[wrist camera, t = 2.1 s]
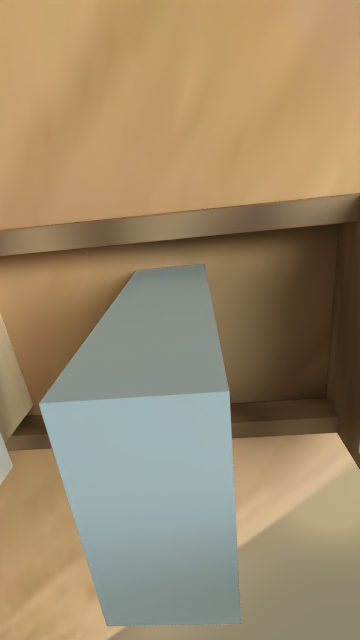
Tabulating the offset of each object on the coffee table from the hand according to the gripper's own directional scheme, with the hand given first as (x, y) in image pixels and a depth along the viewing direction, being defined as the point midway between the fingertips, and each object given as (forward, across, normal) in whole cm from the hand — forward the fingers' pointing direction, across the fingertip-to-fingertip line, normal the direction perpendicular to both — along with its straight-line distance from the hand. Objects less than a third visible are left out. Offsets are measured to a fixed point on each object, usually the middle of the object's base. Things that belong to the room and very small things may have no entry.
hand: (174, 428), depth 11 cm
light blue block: (+9, 0, 0) cm, 9 cm away
